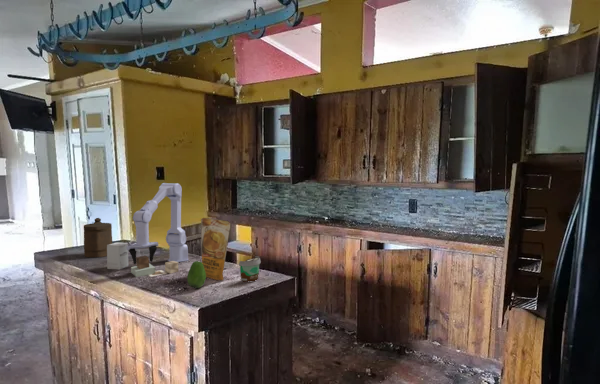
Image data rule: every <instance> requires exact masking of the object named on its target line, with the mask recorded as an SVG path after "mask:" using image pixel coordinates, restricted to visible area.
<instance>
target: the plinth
mask: <svg viewBox="0 0 600 384" xmlns="http://www.w3.org/2000/svg"><path fill="white" fill-rule="evenodd" d="M155 271H156V267H155V266H154V265H153V264H151V263H150V262H149V267H148V268H143V269H139V268H137V265H134V266H131V267H130V273H131V274H132V275H133V276H134V277H135V278H138V277H145V276H149V275H150V274H154V273H155Z"/></svg>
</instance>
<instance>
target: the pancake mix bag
mask: <svg viewBox="0 0 600 384" xmlns="http://www.w3.org/2000/svg"><path fill="white" fill-rule="evenodd" d="M200 222H201V223H200V226H201V231H200V232H201V233H200V234H201V237H200V239H201V243H200V247H201V262H202V263H203V266H204V269H205V273H206V278H207V279H211V280H213V281H224V279H225V278H224V270H225V269H224V268H225V263H226V256H227V251H228V250H227V249H228V245H229V239H230V232H231V228H232V224H231V222H230V221H229V220H223V219H218V218H209V217H203V218H200Z"/></svg>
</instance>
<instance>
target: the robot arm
mask: <svg viewBox="0 0 600 384" xmlns="http://www.w3.org/2000/svg"><path fill="white" fill-rule="evenodd" d="M182 192H183V191H182V186H181V184H180V183H178V182H177V183H175V182H174V183H173V182H172V183H167V182H163V183H161V184H160V186H159V187H158V191H157V192H156V194H155V195H154V197H153V198H152V199H150V200H147V201H146V202H145V204H144V205H143V206H142V207H141V208H140V209H139V210H136V211H135V212H134V213H133V216H132V221H133V222H134V226H135V234H136V235H135V240H136V241H135V243H134V244H128V245H127V246H126V249H127V250H128V253H129V254H130V256H131V259H132V261H133V262H132V263H133V265H137V262H136V257H137V249H146V248H148V251H149V262H151V263H152V262H153V260H154V256H155V253H156V251H157V249H158V247H159V242H158V241H151V242H150V236H149V235H150V233H149V230H150V229H149V226H150V225H149V224H150V221H151V220H152V216H153V214H154V213H155V212H156V210H157V209H158V207H159V206H158V204H159V203H160V202H161V201H163V199H165V198H166V197H167V198H168V199H169V200H170V228H169V229H168V230H167V231H166V235H165V236H166V237H165V241H166V243H167V245H168V246H169V258H168V259H166V261H167V262H170V261H175V262H178V263H180V262H187V261H189V249H188V245H187V244H186V242H187V235H186V230H185V229H183V228H182V194H183V193H182Z"/></svg>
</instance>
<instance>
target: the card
mask: <svg viewBox="0 0 600 384" xmlns="http://www.w3.org/2000/svg"><path fill="white" fill-rule="evenodd" d="M167 274H168V273H167V272H165V270H162V269H160V270H159V269H158V270H155V273H154V274H150V275H148V276H149V277H150V278H151V277H152V278H153V277H156V276H157V277H158V276H161V275H167Z"/></svg>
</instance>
